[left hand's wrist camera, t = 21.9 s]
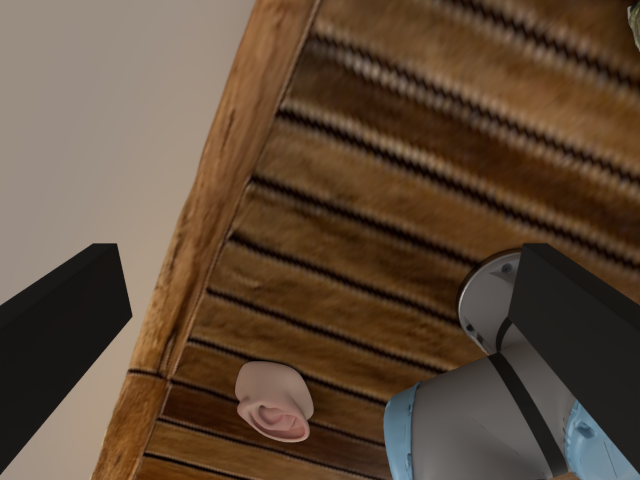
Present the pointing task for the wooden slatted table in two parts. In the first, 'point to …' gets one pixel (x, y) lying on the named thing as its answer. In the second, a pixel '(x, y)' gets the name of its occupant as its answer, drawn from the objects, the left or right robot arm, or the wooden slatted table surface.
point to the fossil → (635, 21)
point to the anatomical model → (274, 400)
